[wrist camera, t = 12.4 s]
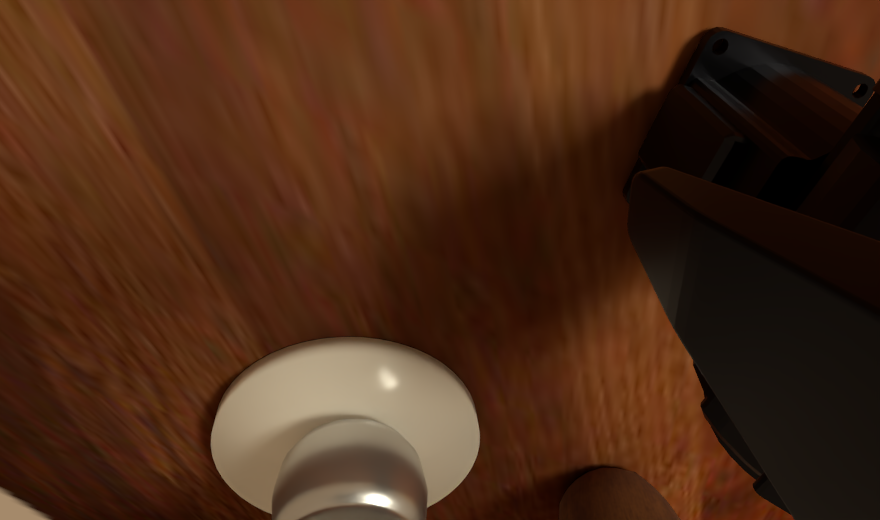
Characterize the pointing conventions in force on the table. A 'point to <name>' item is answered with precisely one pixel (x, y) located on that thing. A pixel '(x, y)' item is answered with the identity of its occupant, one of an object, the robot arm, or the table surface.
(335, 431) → the plastic bottle
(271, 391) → the saucer
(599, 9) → the table surface
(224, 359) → the table surface
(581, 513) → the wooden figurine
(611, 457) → the table surface
